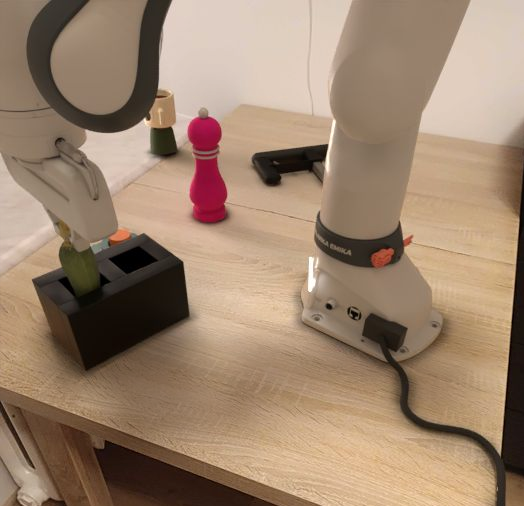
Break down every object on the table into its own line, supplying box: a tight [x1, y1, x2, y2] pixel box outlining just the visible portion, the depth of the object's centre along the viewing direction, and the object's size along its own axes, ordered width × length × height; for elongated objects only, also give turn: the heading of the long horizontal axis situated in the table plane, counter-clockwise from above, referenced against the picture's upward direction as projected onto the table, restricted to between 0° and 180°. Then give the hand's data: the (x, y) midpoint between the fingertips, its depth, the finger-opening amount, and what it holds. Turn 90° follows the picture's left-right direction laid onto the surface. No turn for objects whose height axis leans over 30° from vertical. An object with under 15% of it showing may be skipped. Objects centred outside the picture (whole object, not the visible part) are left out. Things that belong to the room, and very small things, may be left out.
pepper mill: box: [186, 107, 228, 223], centre depth 91 cm, size 7×7×20 cm
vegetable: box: [58, 219, 101, 298], centre depth 66 cm, size 4×4×20 cm
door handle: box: [251, 143, 329, 185], centre depth 111 cm, size 3×20×16 cm
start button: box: [108, 228, 131, 246], centre depth 83 cm, size 4×4×2 cm
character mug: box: [143, 88, 178, 156], centre depth 114 cm, size 11×7×13 cm, turn 15°
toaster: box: [31, 232, 190, 372], centre depth 71 cm, size 10×18×10 cm, turn 133°
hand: (73, 241), depth 62 cm, fingers closed on vegetable, 3 cm apart
